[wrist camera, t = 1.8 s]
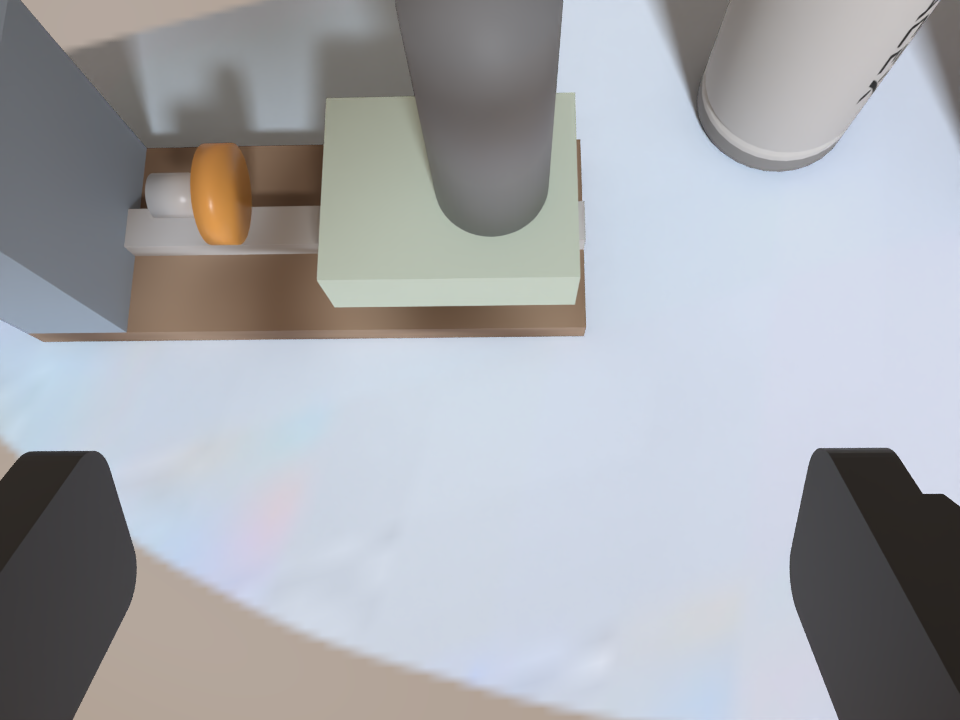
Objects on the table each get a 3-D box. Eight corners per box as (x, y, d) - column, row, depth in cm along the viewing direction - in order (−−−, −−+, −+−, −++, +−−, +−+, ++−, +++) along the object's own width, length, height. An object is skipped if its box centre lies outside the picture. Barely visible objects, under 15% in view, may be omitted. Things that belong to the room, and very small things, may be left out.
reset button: (254, 171, 33) (223, 123, 30) (248, 259, 32) (215, 220, 29) (178, 173, 33) (138, 125, 30) (169, 260, 32) (127, 221, 29)
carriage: (569, 134, 34) (601, -132, 21) (574, 304, 32) (611, 124, 19) (342, 139, 34) (240, -120, 22) (334, 307, 32) (218, 132, 20)
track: (578, 153, 36) (581, 126, 34) (583, 335, 34) (587, 319, 32) (67, 163, 37) (40, 138, 35) (43, 341, 35) (13, 326, 33)
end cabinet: (147, 143, 36) (10, -18, 26) (126, 332, 34) (-30, 232, 24) (53, 145, 36) (-117, -15, 26) (27, 333, 34) (-168, 234, 24)
